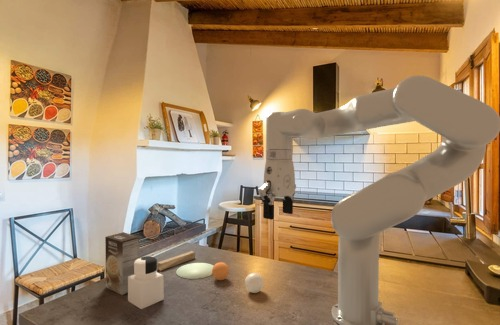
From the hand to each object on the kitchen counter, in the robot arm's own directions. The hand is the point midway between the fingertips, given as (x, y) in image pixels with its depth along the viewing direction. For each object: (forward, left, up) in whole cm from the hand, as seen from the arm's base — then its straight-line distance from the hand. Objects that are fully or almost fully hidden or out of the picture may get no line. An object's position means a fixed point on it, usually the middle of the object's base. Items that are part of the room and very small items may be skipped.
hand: (278, 215), depth 82 cm
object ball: (+22, +1, -21) cm, 30 cm away
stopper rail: (+45, +1, -24) cm, 51 cm away
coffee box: (+42, +24, -24) cm, 54 cm away
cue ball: (+8, +1, -21) cm, 22 cm away
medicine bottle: (+29, +24, -24) cm, 45 cm away
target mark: (+34, +1, -24) cm, 41 cm away
